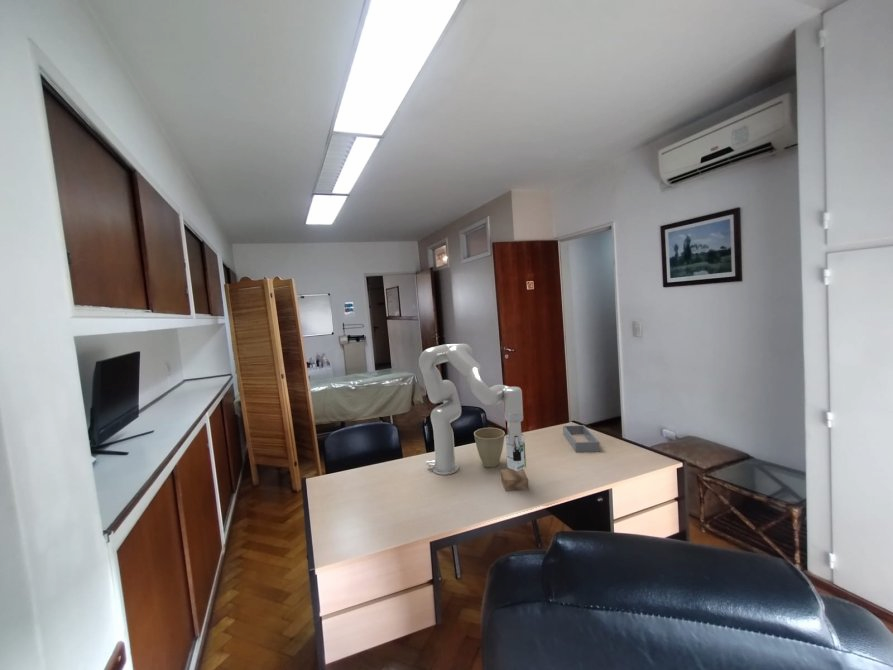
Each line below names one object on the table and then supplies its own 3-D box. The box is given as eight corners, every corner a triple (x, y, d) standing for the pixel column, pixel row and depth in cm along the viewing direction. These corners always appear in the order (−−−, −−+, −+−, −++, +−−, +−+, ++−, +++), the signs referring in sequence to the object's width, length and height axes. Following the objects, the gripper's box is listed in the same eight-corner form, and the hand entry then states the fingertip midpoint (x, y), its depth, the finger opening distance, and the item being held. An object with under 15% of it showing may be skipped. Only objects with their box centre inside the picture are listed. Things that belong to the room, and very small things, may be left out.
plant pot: (470, 468, 183) (469, 436, 182) (482, 456, 196) (480, 426, 195) (500, 473, 176) (498, 440, 175) (510, 460, 189) (508, 429, 188)
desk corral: (575, 452, 194) (575, 442, 194) (563, 434, 220) (562, 425, 219) (599, 451, 193) (599, 442, 193) (584, 433, 219) (584, 425, 219)
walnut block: (505, 491, 160) (504, 480, 159) (501, 480, 170) (500, 469, 169) (528, 490, 160) (528, 478, 160) (523, 479, 170) (522, 468, 170)
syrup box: (517, 471, 158) (515, 438, 156) (506, 467, 162) (505, 434, 161) (526, 467, 161) (524, 434, 160) (516, 463, 166) (514, 431, 164)
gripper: (503, 410, 169) (505, 448, 170) (507, 423, 151) (509, 465, 153) (520, 409, 168) (522, 448, 170) (526, 422, 151) (528, 465, 152)
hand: (515, 456), depth 161 cm, fingers closed on syrup box, 7 cm apart
